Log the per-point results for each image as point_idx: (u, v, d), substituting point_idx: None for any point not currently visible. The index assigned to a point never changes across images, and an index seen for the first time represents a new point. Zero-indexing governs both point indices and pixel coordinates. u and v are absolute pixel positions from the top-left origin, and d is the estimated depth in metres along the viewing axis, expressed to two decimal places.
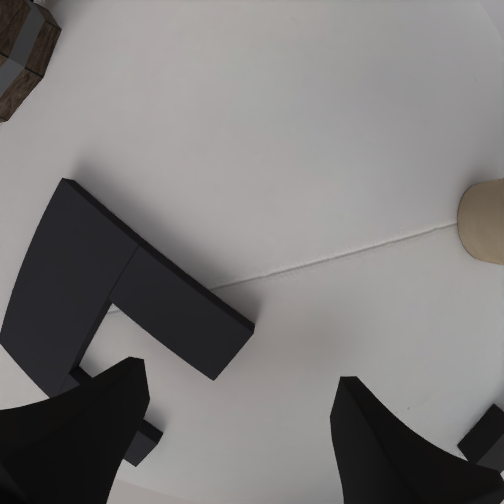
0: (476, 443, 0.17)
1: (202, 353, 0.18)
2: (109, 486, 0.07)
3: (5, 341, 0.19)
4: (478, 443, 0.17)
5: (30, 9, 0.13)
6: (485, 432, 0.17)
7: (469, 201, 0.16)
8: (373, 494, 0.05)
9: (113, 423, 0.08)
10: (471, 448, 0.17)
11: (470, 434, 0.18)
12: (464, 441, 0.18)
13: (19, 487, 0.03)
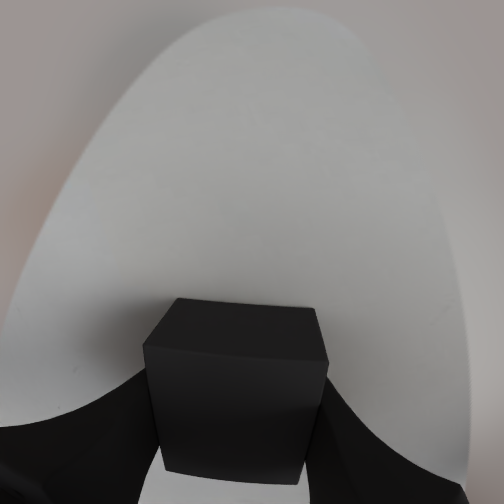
0: None
1: None
2: (138, 495, 0.07)
3: None
4: None
5: None
6: None
7: None
8: (330, 498, 0.05)
9: (143, 431, 0.08)
10: None
11: None
12: None
13: None
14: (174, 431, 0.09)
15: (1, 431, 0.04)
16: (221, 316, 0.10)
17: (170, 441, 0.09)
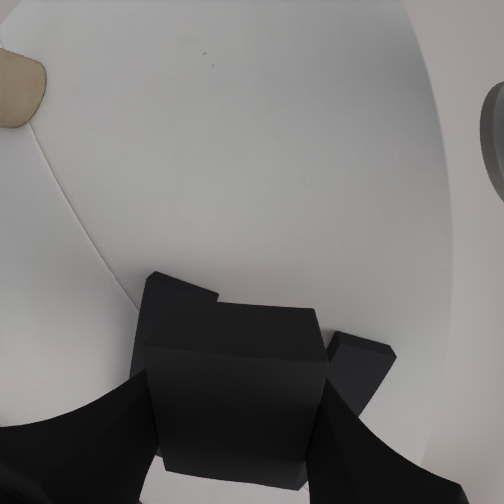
0: None
1: None
2: (138, 495, 0.07)
3: (293, 485, 0.21)
4: None
5: None
6: None
7: (5, 127, 0.15)
8: (330, 498, 0.05)
9: (143, 431, 0.08)
10: None
11: None
12: None
13: None
14: (174, 431, 0.09)
15: (1, 431, 0.04)
16: (221, 316, 0.10)
17: (170, 441, 0.09)
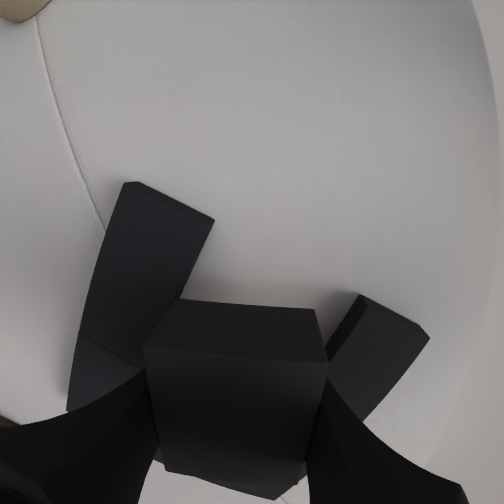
0: None
1: (168, 246, 0.13)
2: (138, 495, 0.07)
3: (269, 493, 0.17)
4: None
5: None
6: None
7: (9, 17, 0.10)
8: (330, 498, 0.05)
9: (142, 431, 0.08)
10: None
11: None
12: None
13: None
14: (174, 432, 0.09)
15: (1, 431, 0.04)
16: (221, 317, 0.10)
17: (170, 442, 0.09)
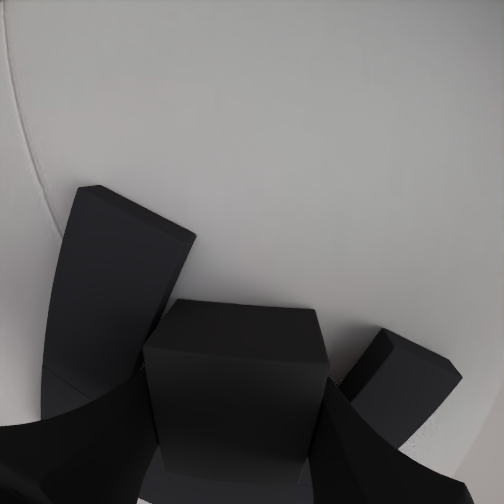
0: None
1: (133, 271, 0.09)
2: (137, 495, 0.07)
3: None
4: None
5: None
6: None
7: None
8: (334, 498, 0.05)
9: (141, 430, 0.08)
10: None
11: None
12: None
13: None
14: (175, 433, 0.09)
15: (0, 430, 0.04)
16: (221, 317, 0.10)
17: (170, 442, 0.09)
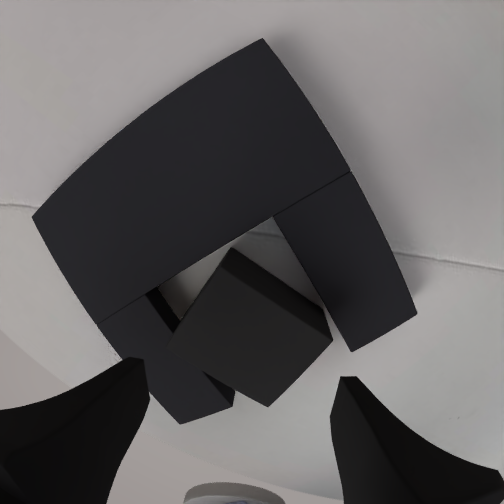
0: None
1: (359, 320, 0.15)
2: (109, 486, 0.07)
3: (45, 220, 0.15)
4: (188, 309, 0.15)
5: None
6: (200, 291, 0.15)
7: None
8: (373, 494, 0.05)
9: (113, 423, 0.08)
10: (182, 318, 0.15)
11: None
12: (188, 309, 0.17)
13: (19, 487, 0.03)
14: (264, 313, 0.13)
15: None
16: None
17: (255, 302, 0.13)
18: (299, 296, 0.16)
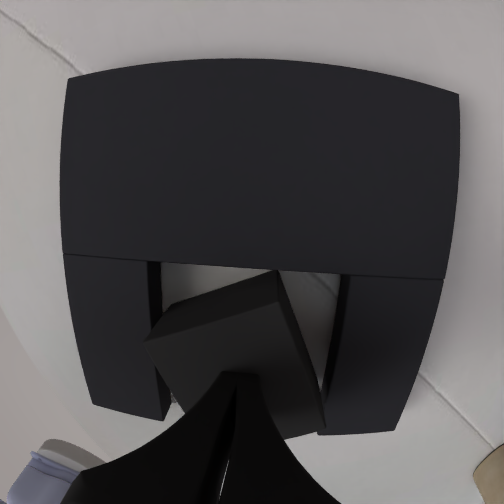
0: (189, 310, 0.12)
1: (347, 413, 0.13)
2: None
3: (81, 94, 0.10)
4: (191, 311, 0.11)
5: None
6: (219, 300, 0.11)
7: None
8: None
9: (224, 445, 0.08)
10: (176, 314, 0.12)
11: (200, 296, 0.13)
12: (183, 302, 0.13)
13: None
14: (285, 374, 0.10)
15: (92, 475, 0.04)
16: None
17: (286, 360, 0.10)
18: (309, 359, 0.13)
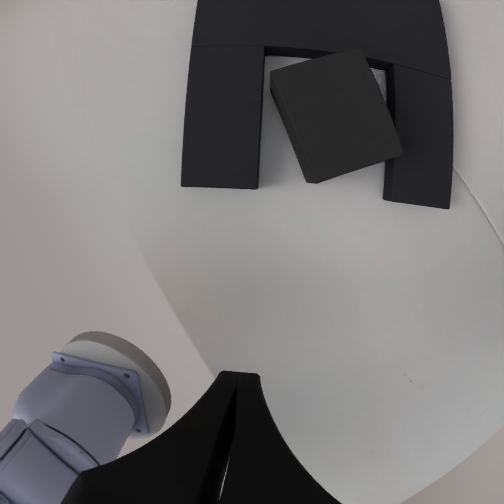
0: None
1: (411, 176, 0.16)
2: None
3: None
4: None
5: None
6: None
7: None
8: None
9: (224, 445, 0.08)
10: None
11: None
12: None
13: None
14: (370, 95, 0.13)
15: (92, 475, 0.04)
16: None
17: (369, 84, 0.13)
18: None
